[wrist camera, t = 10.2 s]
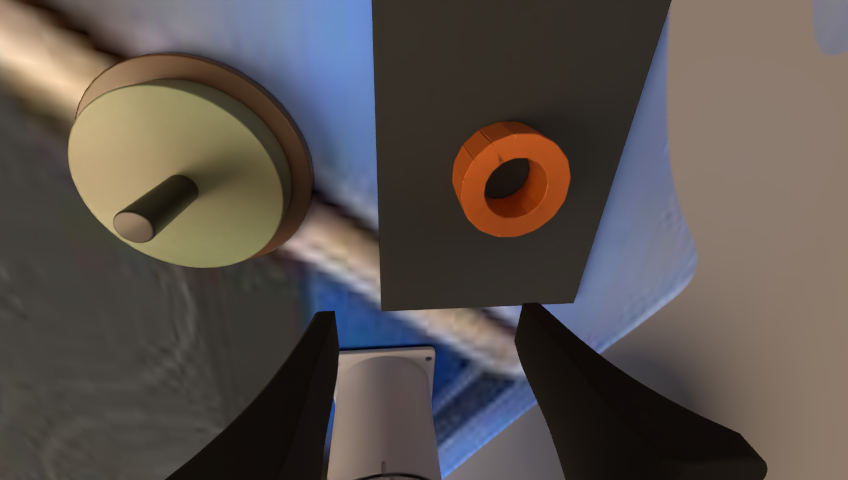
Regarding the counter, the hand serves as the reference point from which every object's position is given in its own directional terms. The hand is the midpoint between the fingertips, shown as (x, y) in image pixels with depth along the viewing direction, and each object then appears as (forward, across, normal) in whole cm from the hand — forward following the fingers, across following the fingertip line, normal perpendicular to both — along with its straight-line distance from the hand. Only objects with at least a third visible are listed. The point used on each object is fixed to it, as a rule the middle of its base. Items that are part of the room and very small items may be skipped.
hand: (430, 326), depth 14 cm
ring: (+9, -5, -3) cm, 11 cm away
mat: (+9, -5, -3) cm, 11 cm away
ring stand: (+9, +11, -3) cm, 15 cm away
